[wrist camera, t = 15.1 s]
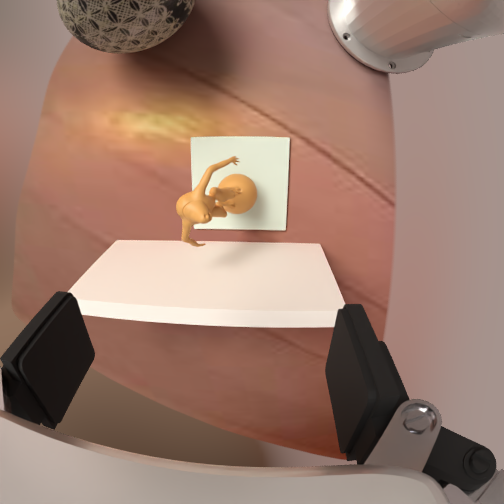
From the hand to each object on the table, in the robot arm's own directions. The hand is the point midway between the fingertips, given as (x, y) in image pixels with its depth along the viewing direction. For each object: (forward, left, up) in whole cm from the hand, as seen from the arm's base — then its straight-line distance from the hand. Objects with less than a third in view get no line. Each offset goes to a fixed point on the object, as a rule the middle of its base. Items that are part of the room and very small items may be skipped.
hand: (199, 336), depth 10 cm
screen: (+7, +4, -24) cm, 25 cm away
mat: (0, 0, -24) cm, 24 cm away
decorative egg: (-3, -21, -24) cm, 33 cm away
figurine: (+1, 0, -24) cm, 24 cm away
